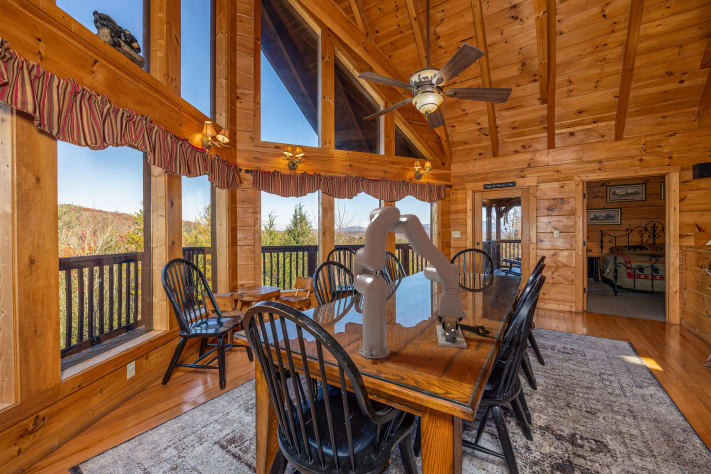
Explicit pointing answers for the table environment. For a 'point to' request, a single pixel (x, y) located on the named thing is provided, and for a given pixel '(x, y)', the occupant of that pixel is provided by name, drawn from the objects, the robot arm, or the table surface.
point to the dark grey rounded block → (451, 336)
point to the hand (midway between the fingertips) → (450, 330)
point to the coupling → (449, 324)
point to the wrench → (474, 329)
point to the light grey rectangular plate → (442, 342)
